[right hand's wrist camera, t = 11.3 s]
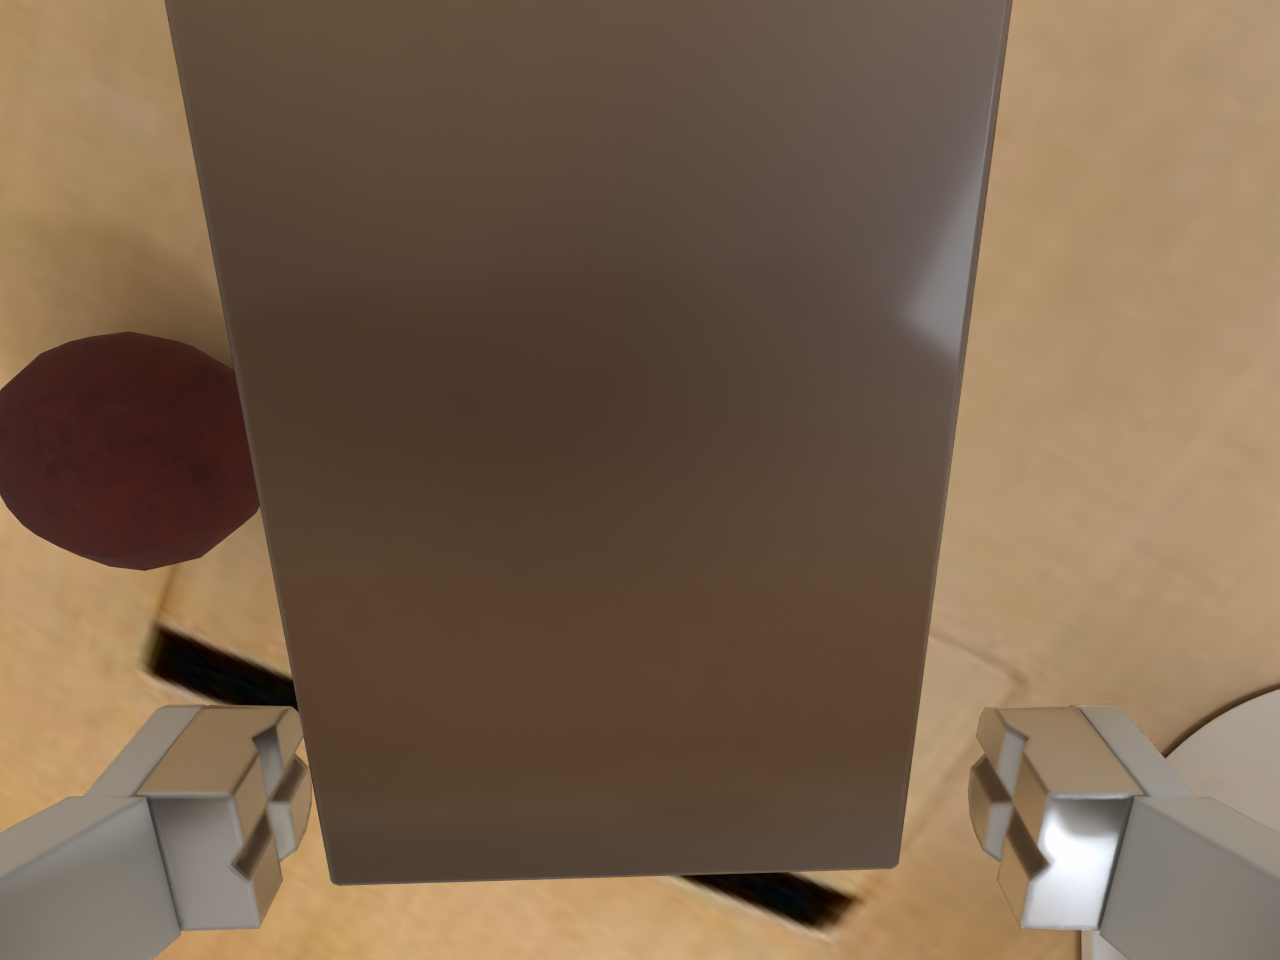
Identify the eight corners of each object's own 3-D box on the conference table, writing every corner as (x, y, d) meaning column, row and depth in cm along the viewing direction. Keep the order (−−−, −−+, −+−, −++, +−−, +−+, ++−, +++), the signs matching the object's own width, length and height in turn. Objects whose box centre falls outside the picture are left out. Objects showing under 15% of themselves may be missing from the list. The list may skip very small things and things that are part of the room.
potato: (48, 314, 29) (-113, 372, 23) (287, 306, 29) (195, 361, 23) (107, 518, 32) (-23, 622, 25) (323, 509, 32) (250, 611, 25)
